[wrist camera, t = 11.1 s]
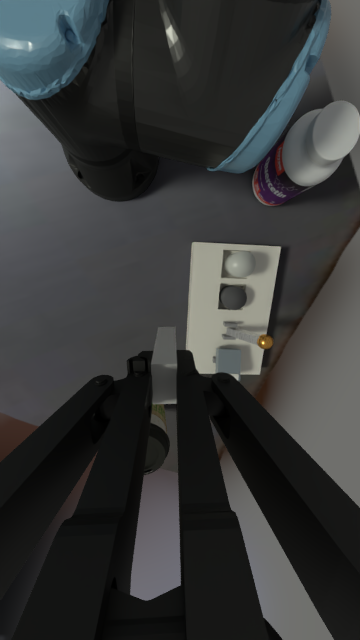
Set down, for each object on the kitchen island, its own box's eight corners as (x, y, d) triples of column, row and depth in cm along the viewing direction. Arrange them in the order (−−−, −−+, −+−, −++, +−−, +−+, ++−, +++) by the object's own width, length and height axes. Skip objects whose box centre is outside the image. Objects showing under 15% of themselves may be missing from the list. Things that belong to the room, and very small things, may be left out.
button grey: (225, 252, 36) (232, 250, 32) (248, 253, 36) (257, 251, 32) (223, 275, 37) (229, 276, 33) (245, 276, 37) (253, 277, 33)
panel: (191, 243, 38) (194, 240, 33) (272, 248, 39) (286, 245, 34) (184, 366, 45) (186, 377, 40) (254, 367, 45) (263, 378, 41)
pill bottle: (242, 176, 35) (288, 117, 21) (281, 146, 34) (356, 64, 20) (263, 217, 37) (318, 188, 23) (301, 190, 36) (382, 142, 22)
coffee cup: (160, 371, 45) (155, 422, 30) (176, 405, 47) (178, 467, 33) (120, 386, 45) (97, 443, 31) (138, 419, 48) (124, 485, 33)
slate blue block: (216, 347, 40) (218, 349, 38) (237, 348, 40) (241, 350, 38) (215, 377, 40) (217, 381, 38) (236, 377, 40) (240, 381, 38)
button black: (219, 284, 39) (225, 286, 35) (240, 285, 39) (248, 287, 35) (217, 305, 40) (222, 309, 36) (238, 306, 40) (245, 310, 36)
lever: (225, 325, 38) (270, 338, 31) (233, 323, 39) (277, 335, 33) (224, 337, 38) (267, 353, 32) (232, 335, 40) (274, 349, 34)
